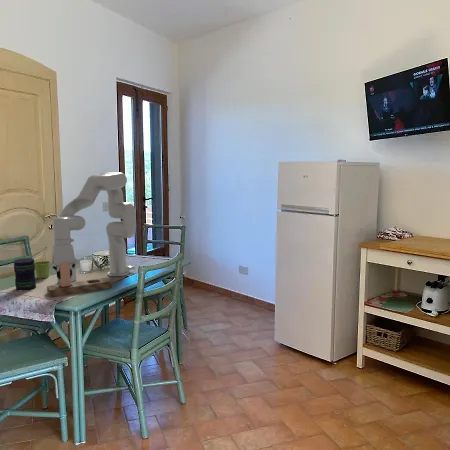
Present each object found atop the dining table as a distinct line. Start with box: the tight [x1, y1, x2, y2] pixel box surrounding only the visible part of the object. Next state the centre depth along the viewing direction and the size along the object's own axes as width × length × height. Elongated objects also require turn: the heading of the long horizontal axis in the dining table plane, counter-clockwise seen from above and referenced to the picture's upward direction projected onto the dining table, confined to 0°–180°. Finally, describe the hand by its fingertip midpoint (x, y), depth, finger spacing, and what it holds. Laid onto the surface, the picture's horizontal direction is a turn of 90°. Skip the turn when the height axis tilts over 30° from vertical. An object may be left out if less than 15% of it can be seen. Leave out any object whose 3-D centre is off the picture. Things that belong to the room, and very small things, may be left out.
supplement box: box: [56, 265, 77, 284], centre depth 229 cm, size 7×7×13 cm
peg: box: [59, 262, 71, 287], centre depth 207 cm, size 4×4×12 cm
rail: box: [46, 277, 113, 298], centre depth 212 cm, size 30×9×4 cm, turn 122°
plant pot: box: [34, 260, 51, 279], centre depth 238 cm, size 9×9×9 cm
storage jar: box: [13, 257, 37, 291], centre depth 216 cm, size 10×10×15 cm
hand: (64, 277), depth 208 cm, fingers closed on peg, 4 cm apart
